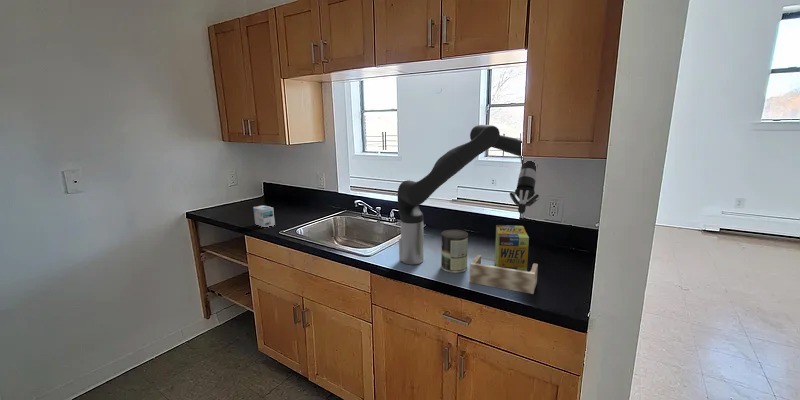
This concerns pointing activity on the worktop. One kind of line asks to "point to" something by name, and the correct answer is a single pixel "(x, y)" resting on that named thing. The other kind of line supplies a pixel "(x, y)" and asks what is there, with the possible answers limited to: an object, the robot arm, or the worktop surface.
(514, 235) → the protein box
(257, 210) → the light bulb box
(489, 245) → the worktop surface
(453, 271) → the coffee can
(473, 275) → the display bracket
